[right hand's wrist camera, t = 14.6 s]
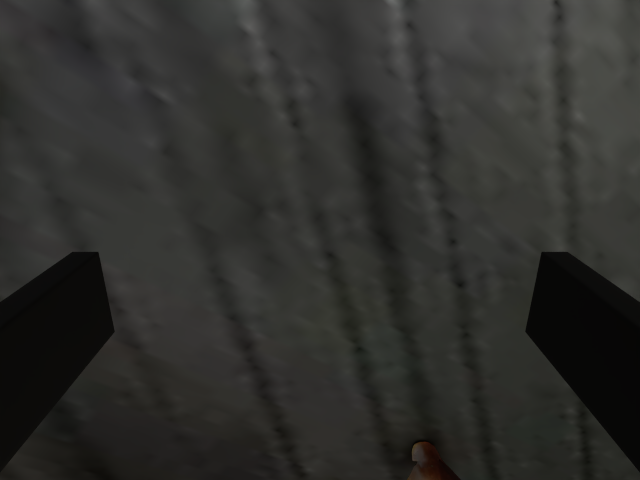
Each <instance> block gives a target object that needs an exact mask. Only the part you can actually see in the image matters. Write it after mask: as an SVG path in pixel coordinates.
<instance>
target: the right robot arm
mask: <svg viewBox="0 0 640 480" xmlns="http://www.w3.org/2000/svg"><path fill="white" fill-rule="evenodd" d="M114 332H115V331H114V326H113V321H112V316H111V312H110V307H109V302H108V297H107V292H106V287H105V282H104V277H103V272H102V268H101V263H100V258H99V253H98V252H72V253H70V254H69V255H67V256H66V257H65V258H63V259H62V260H60V261H59V262H57V263H56V264H55V265H53V266H52V267H50V268H49V269H47V270H46V271H44V272H43V273H42V274H40V275H39V276H37V277H36V278H34V279H33V280H32V281H30V282H29V283H27V284H26V285H24V286H23V287H22V288H20V289H19V290H17V291H16V292H14V293H13V294H11V295H10V296H9V297H7V298H6V299H4V300H3V301H1V302H0V472H1V471H2V469H3V468H4V467H5V466H6V464H7V463H8V462H9V461H10V460H11V458H12V457H13V456H14V455H15V453H16V452H17V451H18V450H19V448H20V447H21V446H22V445H23V444H24V442H25V441H26V440H27V439H28V437H29V436H30V435H31V434H32V433H33V431H34V430H35V429H36V428H37V426H38V425H39V424H40V423H41V421H42V420H43V419H44V418H45V417H46V415H47V414H48V413H49V412H50V410H51V409H52V408H53V407H54V406H55V404H56V403H57V402H58V401H59V399H60V398H61V397H62V396H63V394H64V393H65V392H66V391H67V390H68V388H69V387H70V386H71V385H72V383H73V382H74V381H75V380H76V379H77V377H78V376H79V375H80V374H81V372H82V371H83V370H84V369H85V367H86V366H87V365H88V364H89V363H90V361H91V360H92V359H93V358H94V356H95V355H96V354H97V353H98V351H99V350H100V349H101V348H102V347H103V345H104V344H105V343H106V342H107V340H108V339H109V338H110V337H111V336H112V334H113V333H114ZM525 332H526V333H527V334H528V336H529V337H530V338H531V339H532V340H533V342H534V343H535V344H536V345H537V347H538V348H539V349H540V350H541V352H542V353H543V354H544V355H545V356H546V358H547V359H548V360H549V361H550V363H551V364H552V365H553V366H554V367H555V369H556V370H557V371H558V372H559V374H560V375H561V376H562V377H563V379H564V380H565V381H566V382H567V383H568V385H569V386H570V387H571V388H572V390H573V391H574V392H575V393H576V394H577V396H578V397H579V398H580V399H581V401H582V402H583V403H584V404H585V406H586V407H587V408H588V409H589V410H590V412H591V413H592V414H593V415H594V417H595V418H596V419H597V420H598V421H599V423H600V424H601V425H602V426H603V428H604V429H605V430H606V431H607V433H608V434H609V435H610V436H611V437H612V439H613V440H614V441H615V442H616V444H617V445H618V446H619V447H620V448H621V450H622V451H623V452H624V453H625V455H626V456H627V457H628V458H629V460H630V461H631V462H632V463H633V464H634V466H635V467H636V468H637V469H638V471H639V472H640V302H639V301H637V300H636V299H634V298H633V297H631V296H630V295H629V294H627V293H626V292H624V291H623V290H621V289H620V288H618V287H617V286H616V285H614V284H613V283H611V282H610V281H608V280H607V279H606V278H604V277H603V276H601V275H600V274H598V273H597V272H596V271H594V270H593V269H591V268H590V267H588V266H587V265H585V264H584V263H583V262H581V261H580V260H578V259H577V258H575V257H574V256H573V255H571V254H570V253H568V252H542V253H541V258H540V263H539V268H538V272H537V277H536V282H535V287H534V292H533V297H532V302H531V307H530V312H529V316H528V321H527V326H526V331H525Z"/></svg>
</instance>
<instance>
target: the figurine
mask: <svg viewBox="0 0 640 480" xmlns="http://www.w3.org/2000/svg"><path fill="white" fill-rule="evenodd" d="M412 460H413V461H417V464H416V465H415V466H414V468H413V470H412V472H411V474H410V476H409V477H408V479H407V480H460V478H459V477H458V476H457V475H456V474H455V473H454V472H453V471H452V470H451V469H450V468H449V467H448V466H447V465H446V464H445V463H444V462H443V461H442V459H441V458H440V455H439V453H438V452H437V450H436V449H435V446H434V445H432V444H430V443H428V442H418V443H416V444H414V446H413V449H412Z"/></svg>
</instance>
